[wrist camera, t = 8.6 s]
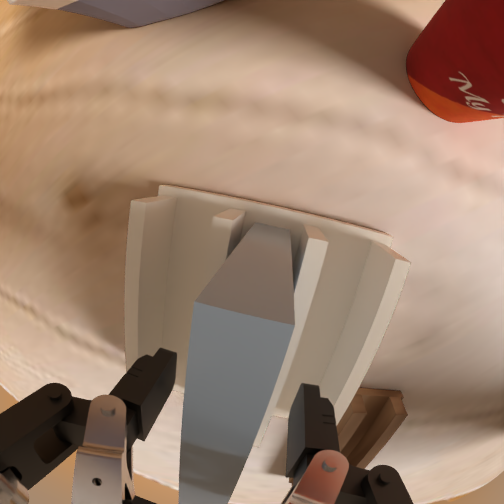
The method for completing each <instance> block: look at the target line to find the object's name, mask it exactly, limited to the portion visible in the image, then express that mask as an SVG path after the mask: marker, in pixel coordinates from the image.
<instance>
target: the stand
mask: <svg viewBox="0 0 504 504" xmlns="http://www.w3.org/2000/svg"><path fill="white" fill-rule="evenodd" d="M402 399H403V395H402V393H401V391H395V390H380V389H369V388H358V390H357V392H356V394H355V395H354V397H353V399H352V401H351V403H350V404H349V406H348V408H347V410H346V411H345V413H344V415H343V416H342V418H341V420H340V421H339V423H338V425H337V433H338V441H339V449H340V453H341V454H342V455H344V456H345V457H346V459H347V460H348V463H349V464H350V465H352V466H355V467H358V468H362V469H364V468H365V467H366V466H367V465H368V464H369V463H370V462H371V461H372V460H373V458H374V457H375V456H376V455H377V454H378V453H379V451H380V450H381V449H382V448H383V447H384V445H385V444H386V443H387V442H388V440H389V439H390V438H391V437H392V435H393V434H394V433H395V431H396V430H397V429H398V427H399V426H400V425H401V423H402V422H403V421H404V419H405V418H406V416H407V415H408V414H407V412H406V409H405V407H404V404H403V402H402ZM293 479H294V478H290V477H289V483H292V486H293Z"/></svg>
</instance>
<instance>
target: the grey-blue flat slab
mask: <svg viewBox="0 0 504 504" xmlns="http://www.w3.org/2000/svg"><path fill="white" fill-rule="evenodd" d="M294 327H295V312H294V290H293V270H292V253H291V238H290V230H289V229H284V228H280V227H275V226H271V225H266V224H262V223H257V222H255V224H254V225H253V226H252V227H251V229H250V230H249V231H248V232H247V234H246V235H245V236H244V238H243V239H242V240H241V241H240V243H239V244H238V245H237V247H236V248H235V249H234V250H233V252H232V253H231V254H230V256H229V257H228V258H227V259H226V261H225V262H224V263H223V265H222V266H221V267H220V268H219V270H218V271H217V272H216V274H215V275H214V276H213V277H212V279H211V280H210V281H209V283H208V284H207V285H206V287H205V288H204V289H203V291H202V292H201V293H200V294H199V296H198V297H197V298H196V300H195V301H194V307H193V315H192V323H191V331H190V340H189V349H188V358H187V368H186V379H185V390H184V402H183V415H182V430H181V448H180V470H179V504H228V502H229V499H230V497H231V495H232V493H233V491H234V488H235V486H236V484H237V482H238V479H239V477H240V475H241V472H242V470H243V468H244V465H245V463H246V460H247V458H248V456H249V453H250V451H251V448H252V446H253V443H254V441H255V438H256V436H257V433H258V431H259V428H260V425H261V423H262V420H263V418H264V415H265V412H266V409H267V407H268V404H269V401H270V399H271V396H272V393H273V390H274V387H275V385H276V382H277V379H278V376H279V373H280V370H281V367H282V364H283V361H284V358H285V355H286V352H287V349H288V346H289V343H290V340H291V337H292V333H293V330H294Z"/></svg>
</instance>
